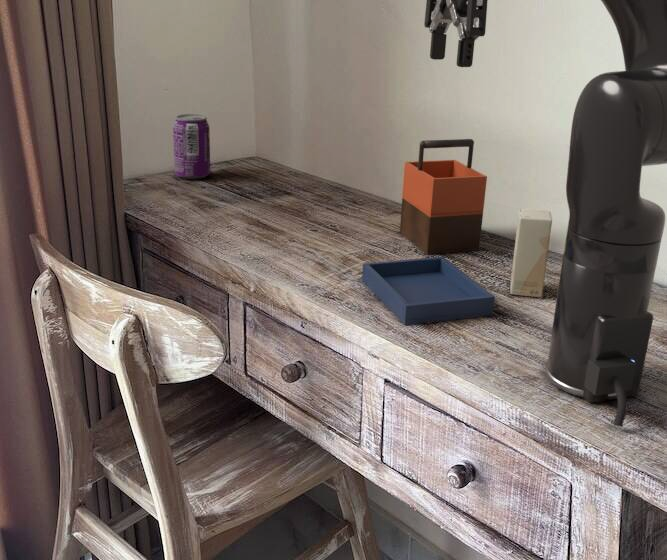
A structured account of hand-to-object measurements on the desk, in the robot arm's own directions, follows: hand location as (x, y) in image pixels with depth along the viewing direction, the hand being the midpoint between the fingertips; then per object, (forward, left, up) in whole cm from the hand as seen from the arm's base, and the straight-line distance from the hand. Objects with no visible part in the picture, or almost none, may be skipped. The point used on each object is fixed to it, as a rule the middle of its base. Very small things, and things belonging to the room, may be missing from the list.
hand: (450, 62), depth 121 cm
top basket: (0, -1, -22) cm, 22 cm away
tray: (-21, +11, -28) cm, 37 cm away
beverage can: (+48, +31, -28) cm, 64 cm away
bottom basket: (0, -1, -28) cm, 28 cm away
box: (-22, -4, -28) cm, 36 cm away
